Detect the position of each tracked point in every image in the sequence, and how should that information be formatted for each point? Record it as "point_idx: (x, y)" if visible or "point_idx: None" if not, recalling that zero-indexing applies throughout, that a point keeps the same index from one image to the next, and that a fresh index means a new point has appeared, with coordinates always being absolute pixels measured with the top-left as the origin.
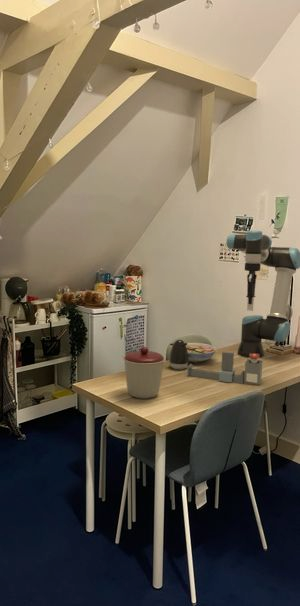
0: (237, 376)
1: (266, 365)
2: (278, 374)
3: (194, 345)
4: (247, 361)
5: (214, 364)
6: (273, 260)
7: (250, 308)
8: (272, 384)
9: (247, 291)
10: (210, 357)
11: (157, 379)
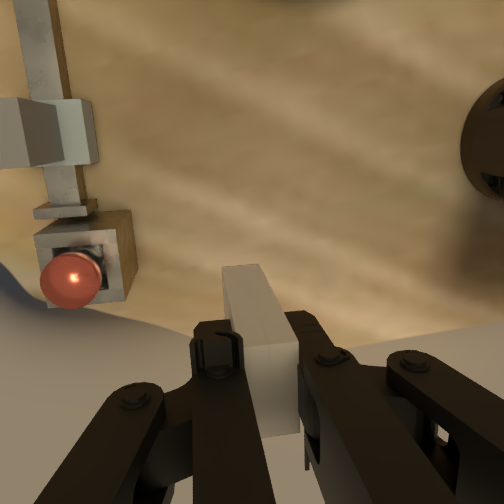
0: (48, 188)
1: (369, 241)
2: None
3: None
4: (65, 239)
5: (282, 7)
6: None
7: (226, 315)
8: (119, 314)
9: (49, 484)
10: None
11: None
